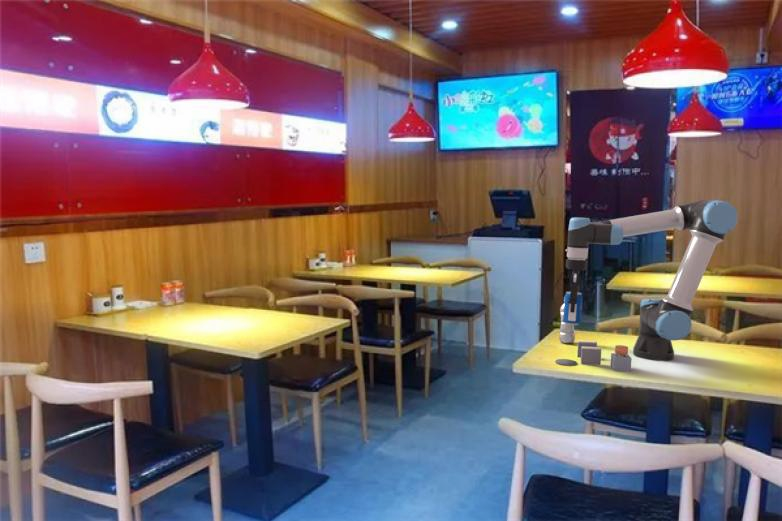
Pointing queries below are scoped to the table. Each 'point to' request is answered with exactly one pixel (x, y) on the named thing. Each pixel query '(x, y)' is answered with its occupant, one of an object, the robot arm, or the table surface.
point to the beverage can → (578, 309)
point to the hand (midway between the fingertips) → (571, 318)
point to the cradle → (589, 352)
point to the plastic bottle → (566, 329)
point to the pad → (566, 362)
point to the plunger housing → (620, 362)
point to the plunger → (621, 350)
